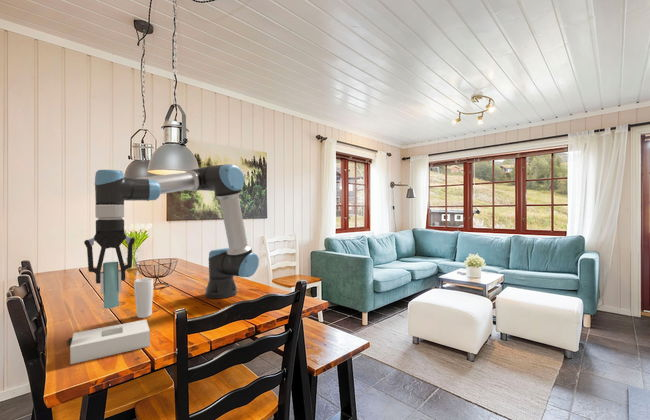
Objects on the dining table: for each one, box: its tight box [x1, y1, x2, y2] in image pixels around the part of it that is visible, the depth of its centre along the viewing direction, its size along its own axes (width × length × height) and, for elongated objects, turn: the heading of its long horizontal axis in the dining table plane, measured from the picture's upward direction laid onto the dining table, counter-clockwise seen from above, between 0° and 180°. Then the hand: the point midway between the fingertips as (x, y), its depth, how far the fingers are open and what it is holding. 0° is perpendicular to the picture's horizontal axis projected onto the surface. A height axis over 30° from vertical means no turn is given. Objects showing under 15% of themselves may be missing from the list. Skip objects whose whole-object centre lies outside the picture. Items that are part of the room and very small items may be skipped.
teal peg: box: [102, 261, 120, 309], centre depth 100 cm, size 4×4×14 cm
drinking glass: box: [133, 277, 154, 319], centre depth 128 cm, size 7×7×15 cm
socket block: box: [69, 319, 151, 365], centre depth 100 cm, size 20×12×5 cm, turn 125°
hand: (111, 291), depth 100 cm, fingers closed on teal peg, 4 cm apart
